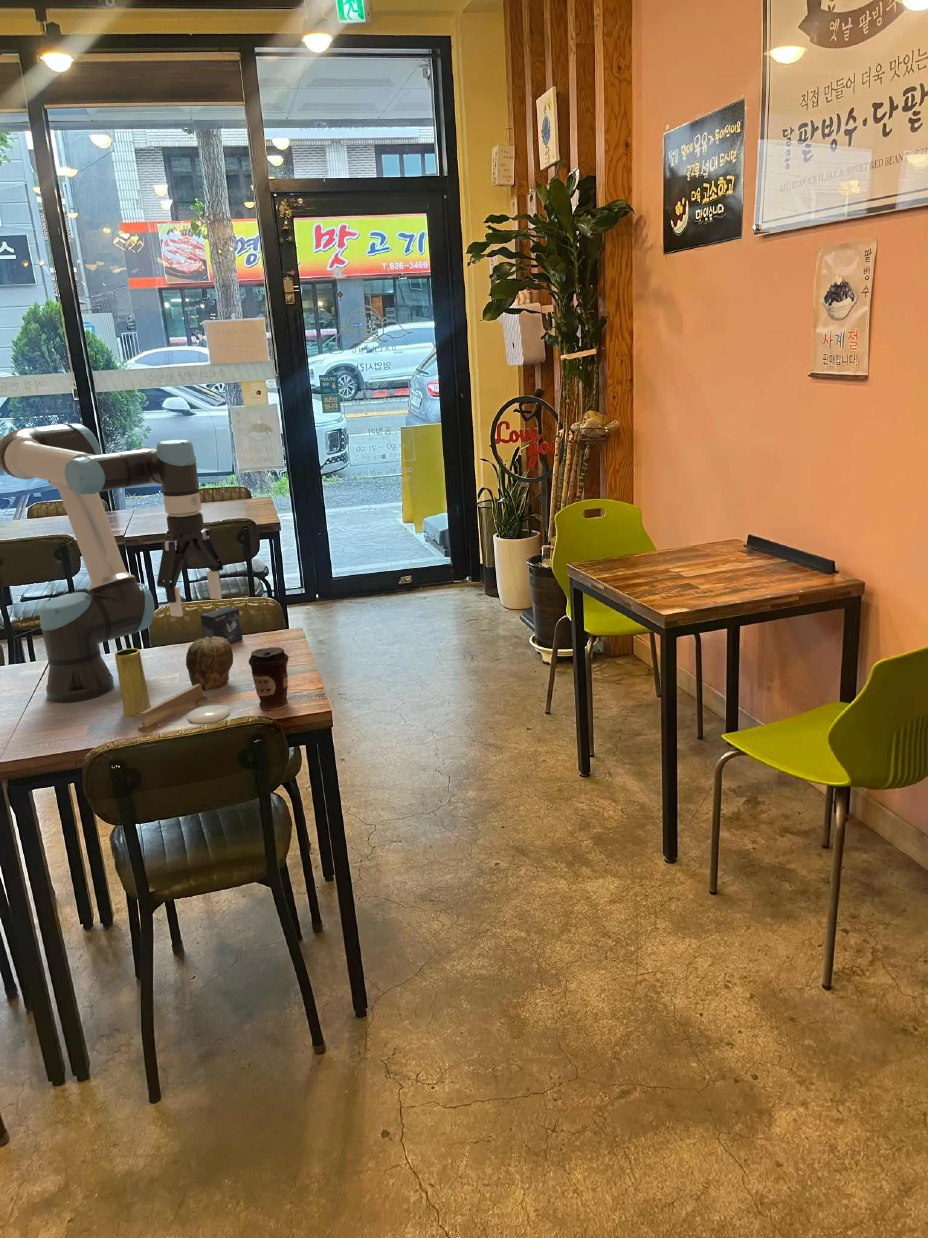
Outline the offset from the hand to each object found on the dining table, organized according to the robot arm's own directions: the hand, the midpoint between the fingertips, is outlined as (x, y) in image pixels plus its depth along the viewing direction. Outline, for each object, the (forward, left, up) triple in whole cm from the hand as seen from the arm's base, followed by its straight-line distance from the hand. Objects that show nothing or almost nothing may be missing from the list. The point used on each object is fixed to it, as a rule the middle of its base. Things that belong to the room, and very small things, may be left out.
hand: (197, 607), depth 200 cm
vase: (-13, -10, -23) cm, 28 cm away
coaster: (+5, -7, -23) cm, 24 cm away
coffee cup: (+16, +2, -23) cm, 28 cm away
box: (-26, +36, -23) cm, 49 cm away
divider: (-3, -9, -23) cm, 25 cm away
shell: (-7, +9, -23) cm, 25 cm away
